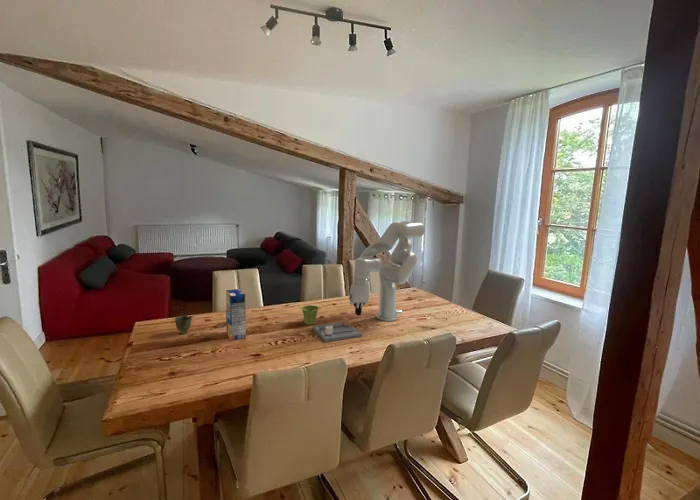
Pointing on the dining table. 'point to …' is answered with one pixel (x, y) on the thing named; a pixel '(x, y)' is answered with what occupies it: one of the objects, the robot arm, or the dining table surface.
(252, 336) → the dining table surface
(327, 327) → the fader ivory
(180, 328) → the cup
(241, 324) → the beverage box
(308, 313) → the plant pot
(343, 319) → the fader rust
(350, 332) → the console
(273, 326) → the dining table surface
